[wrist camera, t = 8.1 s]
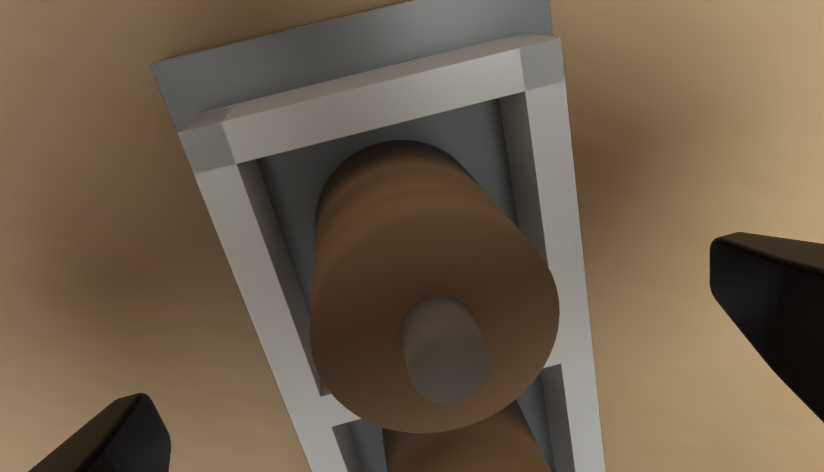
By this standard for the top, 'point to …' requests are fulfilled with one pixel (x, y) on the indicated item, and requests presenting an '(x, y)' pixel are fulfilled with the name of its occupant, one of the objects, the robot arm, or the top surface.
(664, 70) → the top surface
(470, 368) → the brown cylinder
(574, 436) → the housing
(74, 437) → the robot arm
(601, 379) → the top surface
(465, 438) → the brown housed cylinder
